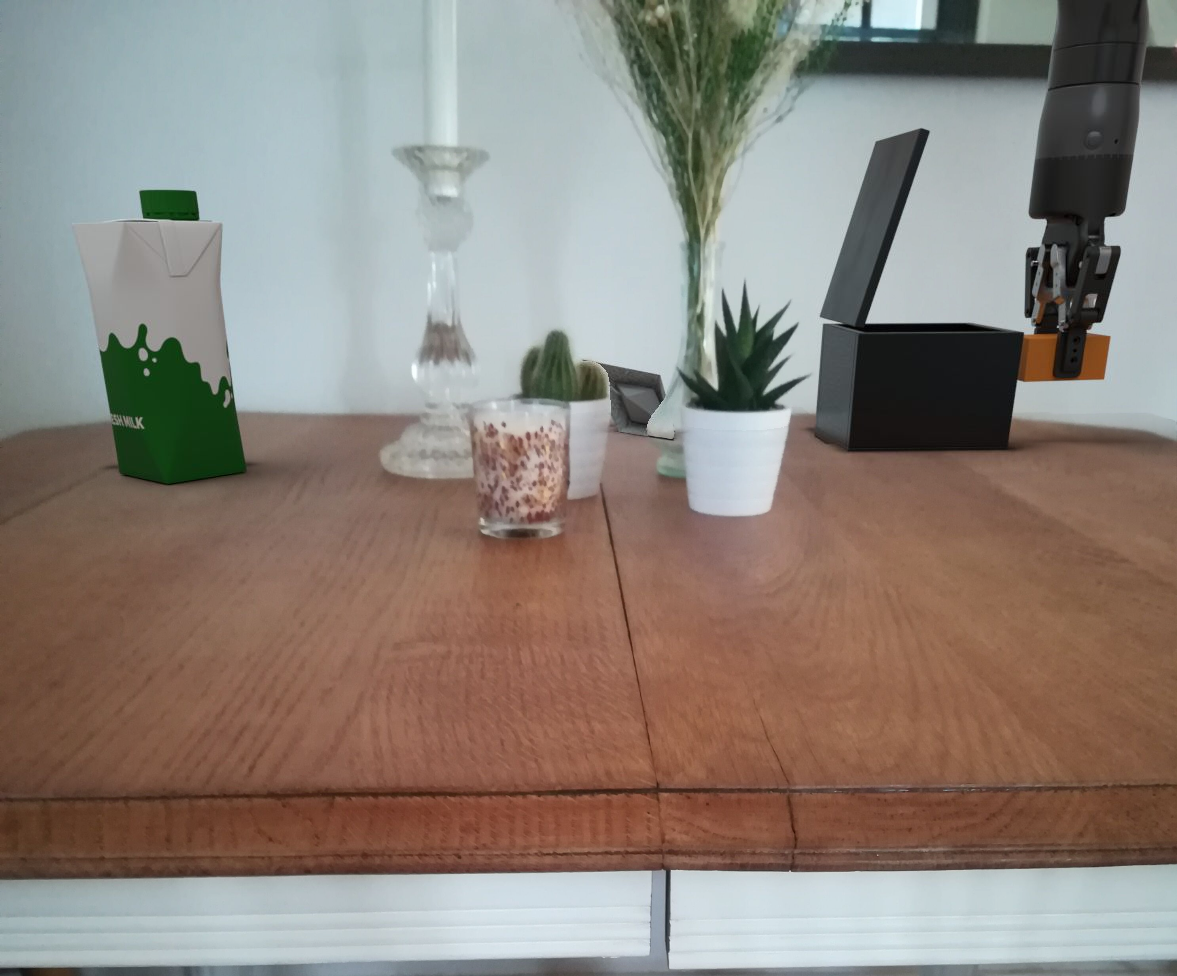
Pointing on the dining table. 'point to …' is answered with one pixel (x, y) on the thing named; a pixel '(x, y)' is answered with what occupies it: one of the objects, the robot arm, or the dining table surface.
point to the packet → (1042, 353)
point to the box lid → (873, 227)
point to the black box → (917, 386)
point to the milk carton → (163, 339)
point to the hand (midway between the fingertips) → (1053, 373)
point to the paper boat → (633, 397)
